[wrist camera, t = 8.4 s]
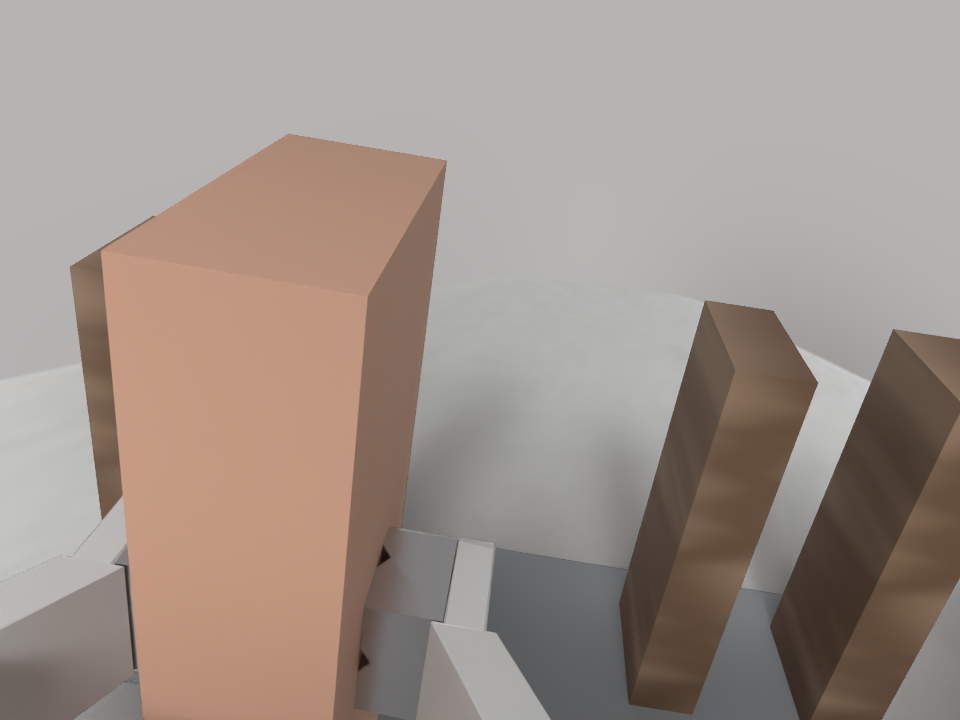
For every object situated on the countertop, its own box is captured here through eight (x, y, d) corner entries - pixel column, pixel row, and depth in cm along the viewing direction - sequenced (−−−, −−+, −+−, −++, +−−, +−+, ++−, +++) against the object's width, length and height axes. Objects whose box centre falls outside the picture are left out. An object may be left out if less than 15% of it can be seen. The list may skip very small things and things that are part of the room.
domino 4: (804, 733, 24) (963, 405, 19) (769, 626, 28) (893, 329, 22) (868, 744, 24) (1047, 418, 18) (824, 635, 28) (962, 340, 22)
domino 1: (114, 619, 25) (69, 266, 19) (175, 529, 28) (153, 215, 23) (175, 629, 25) (149, 279, 19) (228, 538, 28) (219, 226, 23)
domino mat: (68, 671, 23) (67, 661, 23) (183, 505, 30) (183, 497, 30) (902, 810, 23) (907, 802, 22) (820, 609, 30) (823, 601, 30)
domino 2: (171, 1025, 11) (100, 249, 6) (270, 751, 15) (288, 134, 10) (305, 1050, 11) (367, 295, 6) (371, 769, 15) (446, 161, 10)
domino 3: (628, 704, 24) (735, 369, 19) (619, 601, 28) (705, 300, 23) (692, 714, 24) (817, 383, 19) (673, 611, 28) (773, 310, 23)
